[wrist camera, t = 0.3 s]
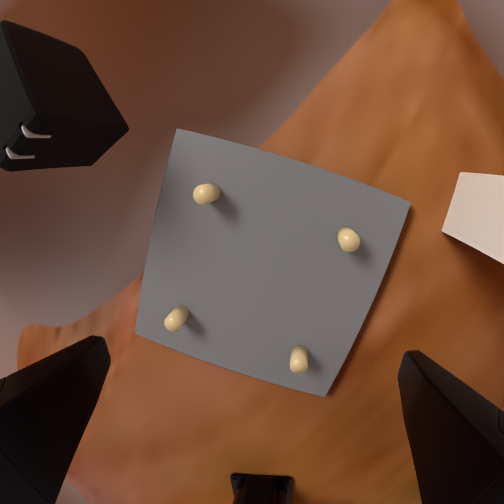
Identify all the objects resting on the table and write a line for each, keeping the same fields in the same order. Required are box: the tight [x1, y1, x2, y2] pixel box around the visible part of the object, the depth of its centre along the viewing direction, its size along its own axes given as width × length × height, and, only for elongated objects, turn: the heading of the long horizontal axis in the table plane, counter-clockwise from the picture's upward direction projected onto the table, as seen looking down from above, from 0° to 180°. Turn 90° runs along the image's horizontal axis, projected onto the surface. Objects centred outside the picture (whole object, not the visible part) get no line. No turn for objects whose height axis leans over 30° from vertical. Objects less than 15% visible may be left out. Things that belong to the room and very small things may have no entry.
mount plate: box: [135, 129, 411, 397], centre depth 21 cm, size 16×16×3 cm
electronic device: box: [0, 20, 129, 172], centre depth 16 cm, size 4×10×10 cm, turn 34°
